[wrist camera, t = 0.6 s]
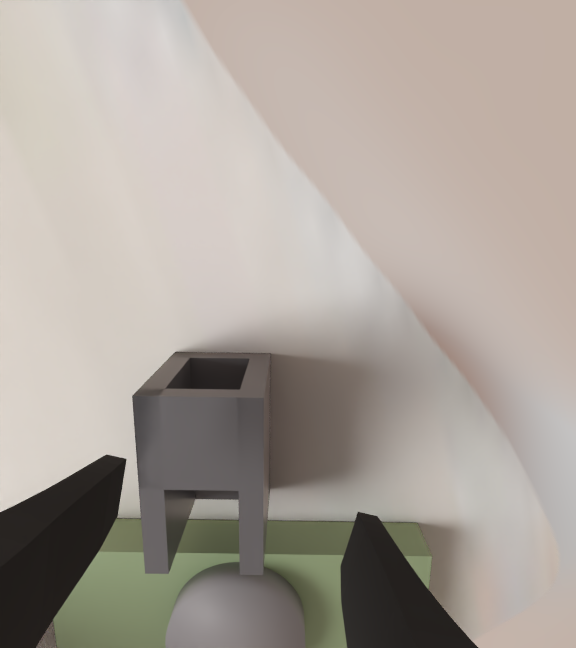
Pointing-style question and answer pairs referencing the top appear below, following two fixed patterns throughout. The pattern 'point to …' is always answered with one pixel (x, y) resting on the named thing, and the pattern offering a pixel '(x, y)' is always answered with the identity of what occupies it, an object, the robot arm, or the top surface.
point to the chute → (203, 450)
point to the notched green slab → (221, 589)
